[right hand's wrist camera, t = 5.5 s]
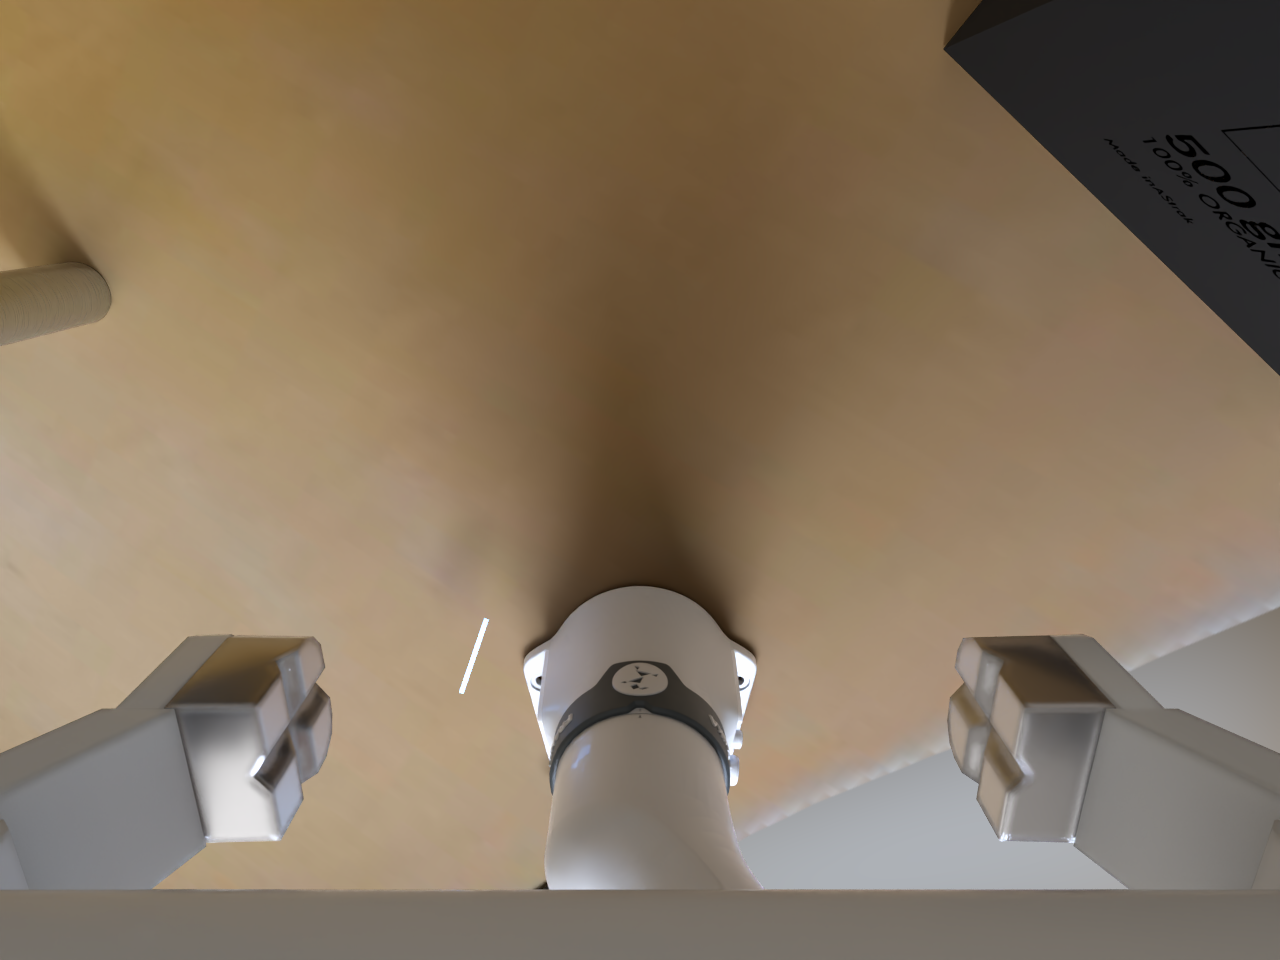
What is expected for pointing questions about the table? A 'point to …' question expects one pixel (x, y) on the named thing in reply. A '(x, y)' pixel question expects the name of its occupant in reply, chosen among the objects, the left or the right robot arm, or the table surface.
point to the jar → (50, 300)
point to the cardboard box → (1157, 128)
